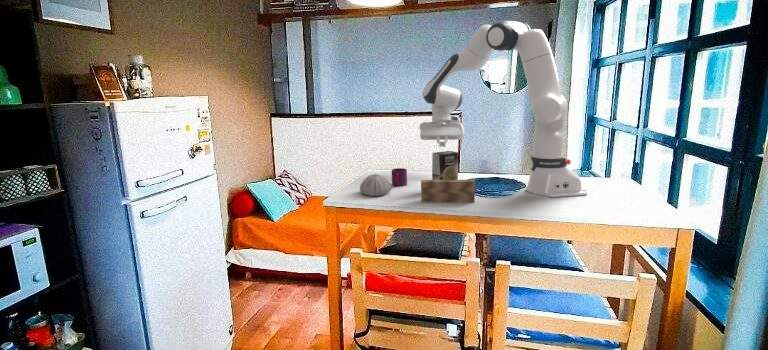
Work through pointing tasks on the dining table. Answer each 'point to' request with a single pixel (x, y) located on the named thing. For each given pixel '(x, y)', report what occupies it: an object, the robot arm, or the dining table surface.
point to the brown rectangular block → (447, 190)
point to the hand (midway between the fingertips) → (442, 146)
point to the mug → (399, 177)
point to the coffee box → (445, 165)
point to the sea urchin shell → (375, 185)
